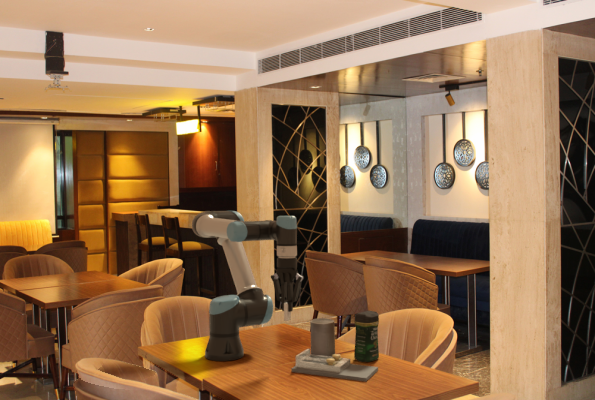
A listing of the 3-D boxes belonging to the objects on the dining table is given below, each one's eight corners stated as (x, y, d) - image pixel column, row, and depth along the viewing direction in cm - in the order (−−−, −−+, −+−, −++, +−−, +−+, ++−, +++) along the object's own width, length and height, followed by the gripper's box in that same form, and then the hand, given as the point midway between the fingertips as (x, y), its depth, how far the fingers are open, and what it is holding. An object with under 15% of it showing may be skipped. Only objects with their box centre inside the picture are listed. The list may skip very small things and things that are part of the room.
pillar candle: (327, 350, 235) (327, 314, 235) (339, 356, 226) (338, 318, 226) (306, 353, 231) (305, 316, 231) (317, 359, 222) (317, 321, 222)
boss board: (291, 371, 206) (291, 358, 206) (307, 361, 219) (306, 348, 219) (366, 381, 195) (366, 367, 195) (378, 370, 208) (378, 356, 208)
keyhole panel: (295, 367, 207) (295, 355, 207) (307, 359, 217) (307, 348, 217) (340, 373, 200) (339, 361, 200) (350, 364, 210) (350, 353, 210)
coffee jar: (367, 364, 216) (367, 314, 216) (351, 360, 221) (350, 311, 221) (382, 358, 223) (382, 311, 223) (366, 355, 228) (365, 308, 228)
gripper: (266, 257, 214) (267, 320, 214) (298, 258, 209) (299, 323, 209) (275, 255, 221) (276, 317, 221) (306, 256, 215) (307, 319, 215)
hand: (287, 320), depth 215 cm, fingers closed
